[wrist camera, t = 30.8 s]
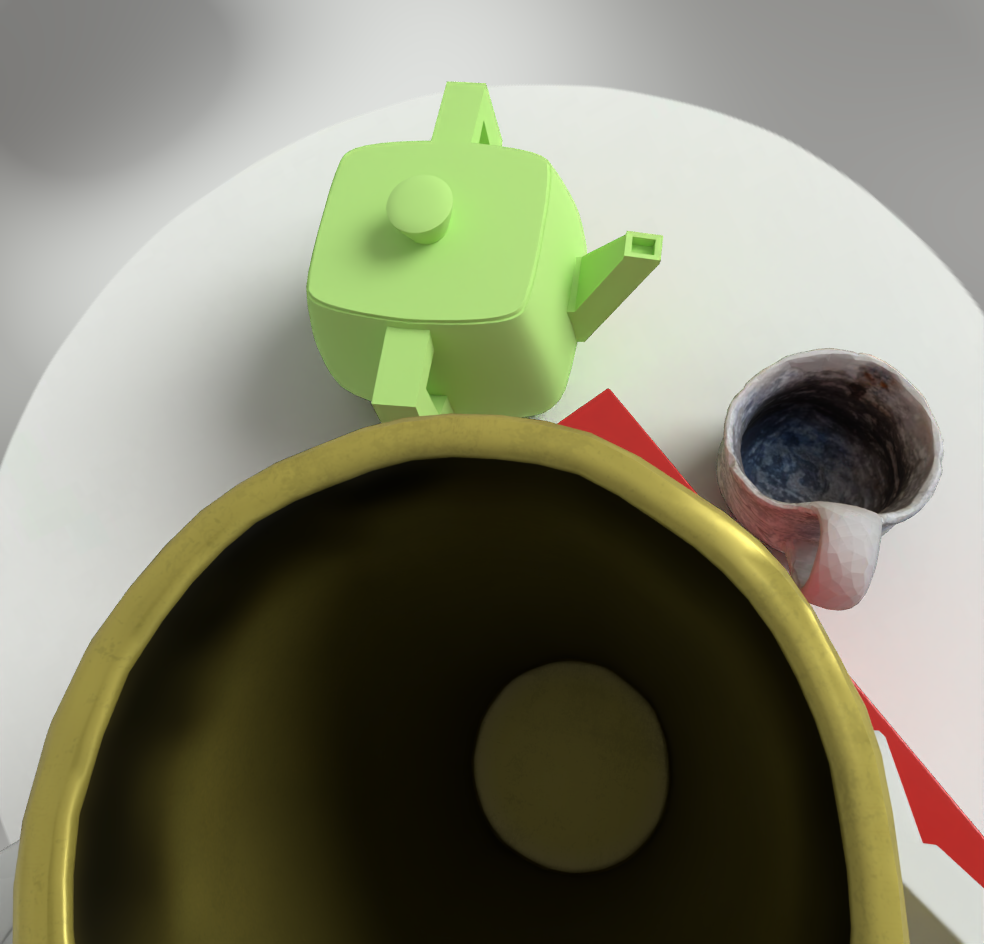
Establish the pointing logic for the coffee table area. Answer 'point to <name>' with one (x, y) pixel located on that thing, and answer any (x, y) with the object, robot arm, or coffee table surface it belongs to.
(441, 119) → the teapot
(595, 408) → the cabinet
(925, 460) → the mug
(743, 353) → the coffee table surface
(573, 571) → the vase
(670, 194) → the coffee table surface
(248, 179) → the coffee table surface
